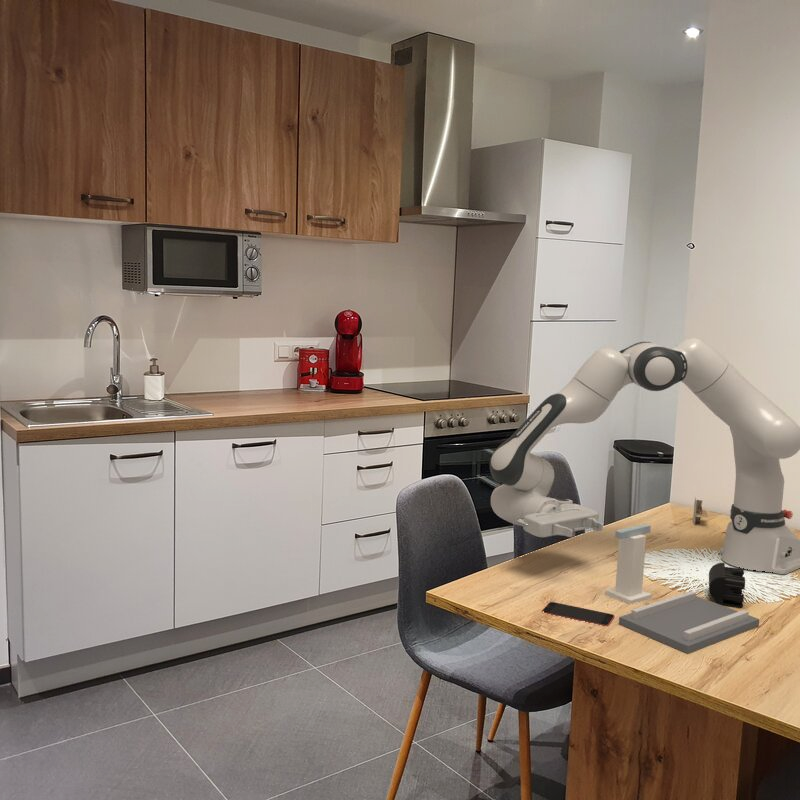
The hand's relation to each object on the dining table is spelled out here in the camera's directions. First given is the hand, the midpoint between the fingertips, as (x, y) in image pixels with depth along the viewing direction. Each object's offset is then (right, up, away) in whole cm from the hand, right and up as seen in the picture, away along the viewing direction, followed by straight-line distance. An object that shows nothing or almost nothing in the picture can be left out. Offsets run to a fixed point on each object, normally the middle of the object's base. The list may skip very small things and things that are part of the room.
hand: (587, 530), depth 191 cm
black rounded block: (+29, -14, -7) cm, 33 cm away
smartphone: (-6, -15, -19) cm, 25 cm away
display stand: (+7, -13, -8) cm, 17 cm away
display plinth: (+15, -16, -23) cm, 32 cm away
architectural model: (+44, -7, +53) cm, 69 cm away
